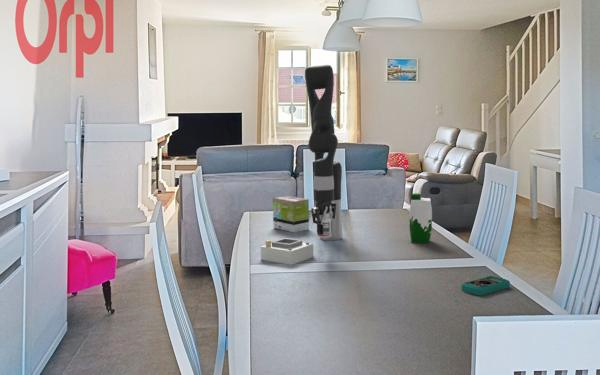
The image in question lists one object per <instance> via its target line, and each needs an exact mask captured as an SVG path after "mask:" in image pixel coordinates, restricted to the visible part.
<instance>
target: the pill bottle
mask: <svg viewBox="0 0 600 375" xmlns="http://www.w3.org/2000/svg"><path fill="white" fill-rule="evenodd" d="M319 216H322V215H320V214H319ZM329 216H330V214H329V213H326V216H325V219H324V220H323V234H317V237H318V238H320V237H321V238H328V237H331V236H332V230H331V219H330V218H329ZM320 221H321V218H320Z"/></svg>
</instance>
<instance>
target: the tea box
mask: <svg viewBox="0 0 600 375" xmlns="http://www.w3.org/2000/svg"><path fill="white" fill-rule="evenodd" d="M309 200H310V199H308V198H303V197H296V196H290V195H286V196H279V197H272V216H273V217H272V221H273V228H274V229H278V230H283V231H286V232H290V233H293V232H295V233H298V231H300V232H304V231H303V230H305V231H308V230H310V214H309V213H310V210H309V209H310V207H309V205H310V203H309V202H310V201H309Z"/></svg>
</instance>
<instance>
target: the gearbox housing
mask: <svg viewBox="0 0 600 375" xmlns="http://www.w3.org/2000/svg"><path fill="white" fill-rule="evenodd" d="M312 258H314V243H310V242H308V241H307V242H303V240H301V239H292V238H286V237H283V238H281V239H278V240H274V241H272V240H270V239H269V240H267V239H266V240H265V244H264V245H262V246H260V261H267V262H272V263H273V262H274V263H278V264H285V265H289V266H291V265H295V264H298V263H301V262H303V261H306V260H309V259H312Z"/></svg>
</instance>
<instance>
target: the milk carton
mask: <svg viewBox="0 0 600 375" xmlns="http://www.w3.org/2000/svg"><path fill="white" fill-rule="evenodd" d="M409 200H410V205H409V235H410V242H411V244H428V245H429V244H430V240H431V235H432V227H433V226H432V225H433V223H432V222H433V210H432V209H433V208H432V202H431V200H432V199H431V198H430V197H422V195H421V193H411V194H410V198H409Z"/></svg>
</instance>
